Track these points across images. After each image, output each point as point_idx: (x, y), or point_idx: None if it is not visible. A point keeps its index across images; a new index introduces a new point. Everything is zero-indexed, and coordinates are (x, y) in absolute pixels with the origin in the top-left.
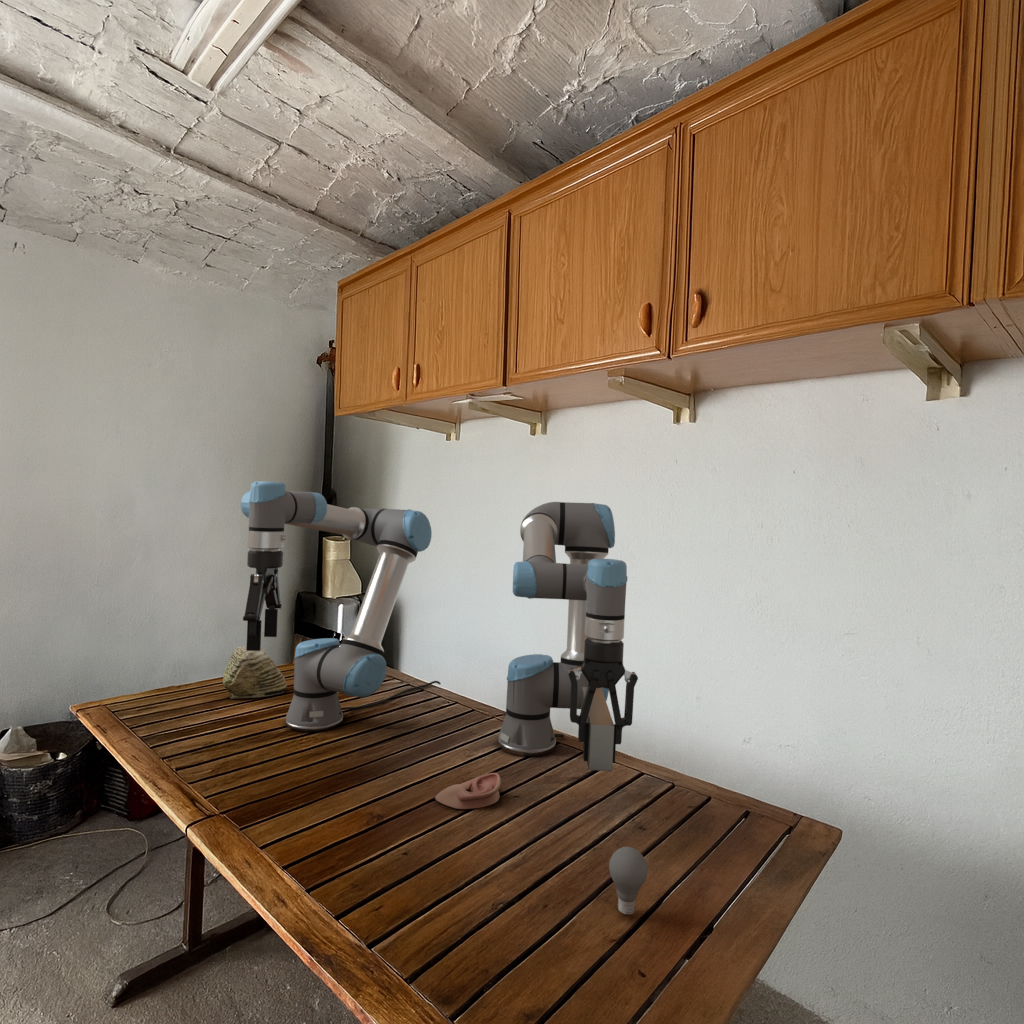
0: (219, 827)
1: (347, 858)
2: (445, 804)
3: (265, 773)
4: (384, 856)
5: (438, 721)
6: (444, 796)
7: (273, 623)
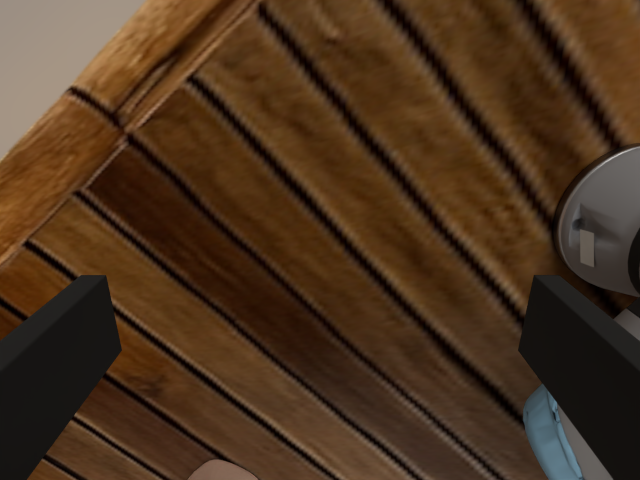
0: (75, 152)
1: None
2: (194, 471)
3: (314, 173)
4: None
5: None
6: (206, 475)
7: (582, 407)
